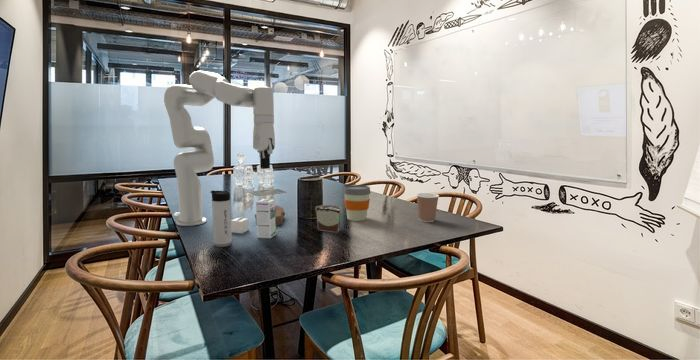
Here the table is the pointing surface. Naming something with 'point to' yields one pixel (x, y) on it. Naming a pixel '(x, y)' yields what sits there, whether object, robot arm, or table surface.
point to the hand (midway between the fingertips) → (265, 168)
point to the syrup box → (266, 218)
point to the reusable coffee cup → (356, 201)
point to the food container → (328, 217)
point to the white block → (239, 225)
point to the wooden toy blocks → (277, 215)
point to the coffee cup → (427, 206)
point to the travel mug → (221, 218)
